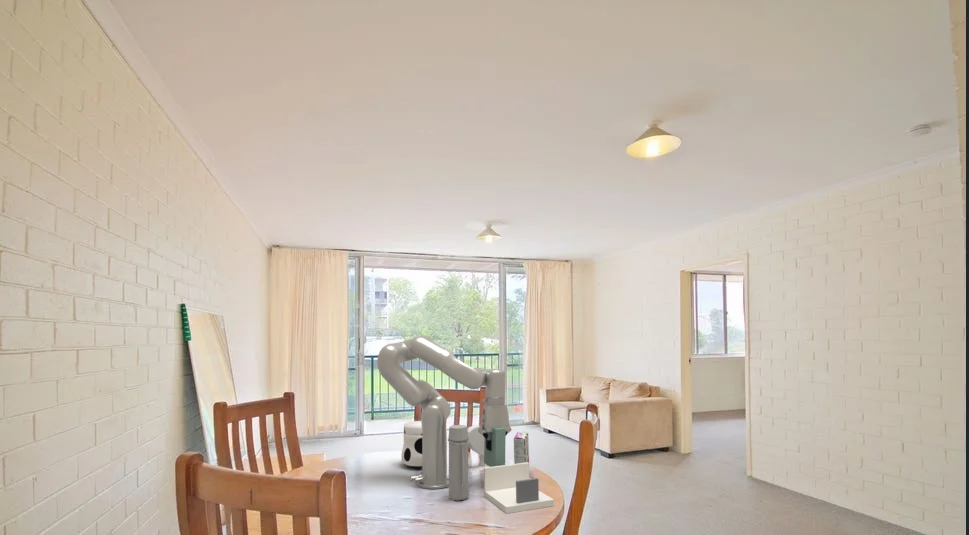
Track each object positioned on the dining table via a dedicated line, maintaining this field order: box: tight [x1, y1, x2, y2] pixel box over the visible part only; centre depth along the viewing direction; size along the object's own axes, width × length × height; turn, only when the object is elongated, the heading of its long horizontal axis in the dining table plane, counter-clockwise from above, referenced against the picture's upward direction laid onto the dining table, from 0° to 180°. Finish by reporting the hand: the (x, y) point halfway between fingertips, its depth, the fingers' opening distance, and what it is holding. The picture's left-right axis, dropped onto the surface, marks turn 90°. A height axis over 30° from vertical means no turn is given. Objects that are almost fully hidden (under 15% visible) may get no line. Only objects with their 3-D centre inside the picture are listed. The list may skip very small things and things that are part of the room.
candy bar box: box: [513, 431, 530, 464], centre depth 217 cm, size 11×5×16 cm, turn 168°
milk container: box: [401, 420, 422, 469], centre depth 234 cm, size 17×17×18 cm
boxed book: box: [484, 427, 507, 467], centre depth 204 cm, size 4×11×15 cm, turn 23°
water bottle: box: [447, 424, 470, 502], centre depth 190 cm, size 9×8×25 cm
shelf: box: [483, 462, 555, 514], centre depth 186 cm, size 18×19×10 cm
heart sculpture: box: [467, 424, 489, 472], centre depth 230 cm, size 16×5×18 cm, turn 125°
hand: (494, 449), depth 204 cm, fingers closed on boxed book, 4 cm apart
